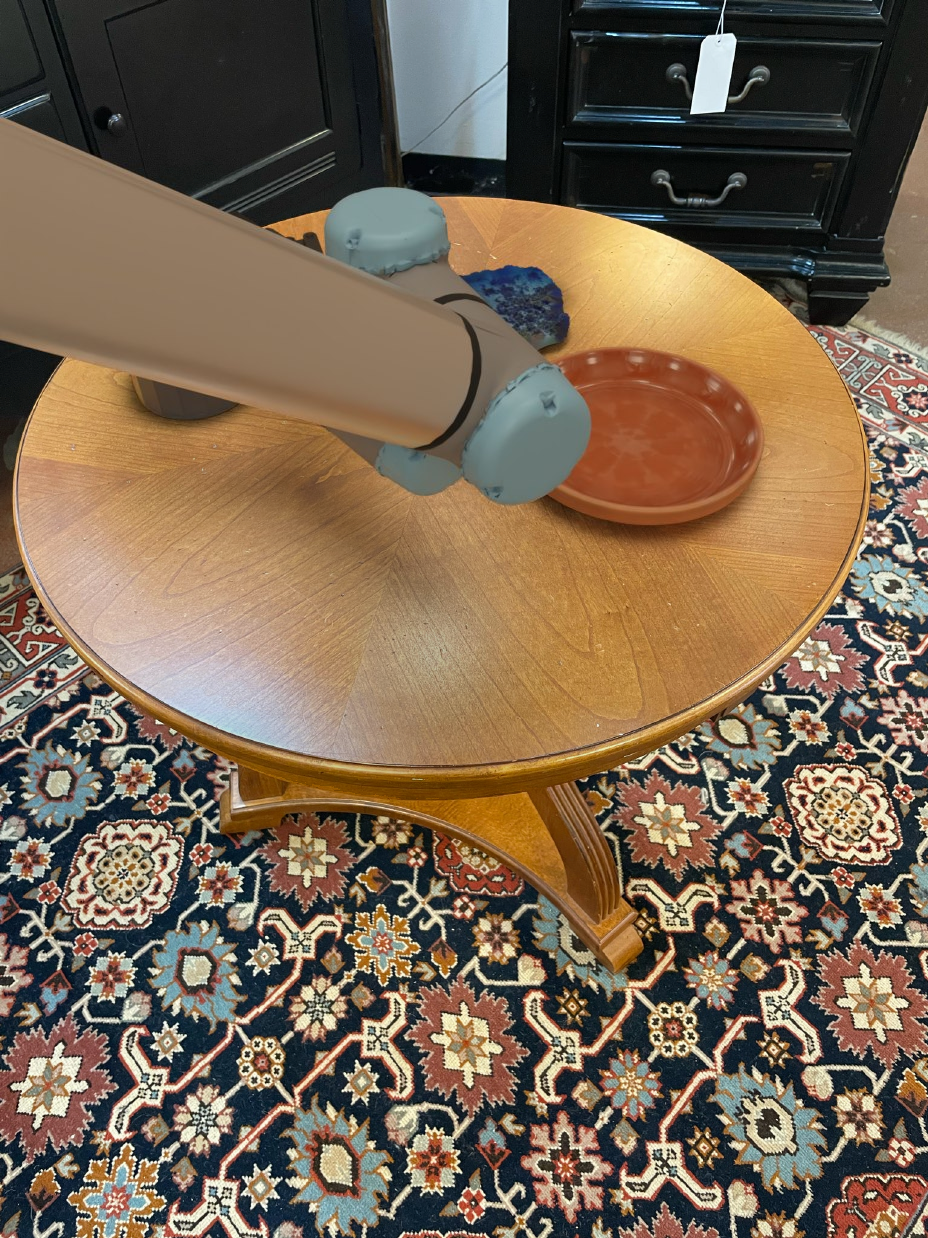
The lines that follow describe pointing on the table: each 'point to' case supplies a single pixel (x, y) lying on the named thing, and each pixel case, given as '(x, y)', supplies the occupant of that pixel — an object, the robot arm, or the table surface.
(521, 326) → the rock
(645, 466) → the saucer
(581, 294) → the table surface
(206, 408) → the pot
